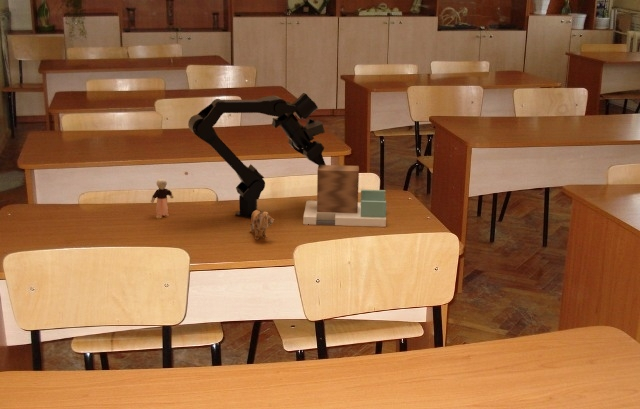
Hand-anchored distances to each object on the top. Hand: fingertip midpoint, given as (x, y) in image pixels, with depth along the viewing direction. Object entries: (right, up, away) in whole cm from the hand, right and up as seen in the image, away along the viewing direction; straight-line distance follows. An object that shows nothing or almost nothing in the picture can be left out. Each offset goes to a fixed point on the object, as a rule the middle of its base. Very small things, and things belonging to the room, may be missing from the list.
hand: (319, 163), depth 260 cm
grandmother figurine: (-50, -18, -6) cm, 54 cm away
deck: (+8, -18, -5) cm, 20 cm away
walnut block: (+6, -15, -6) cm, 17 cm away
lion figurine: (-18, -23, -21) cm, 36 cm away
